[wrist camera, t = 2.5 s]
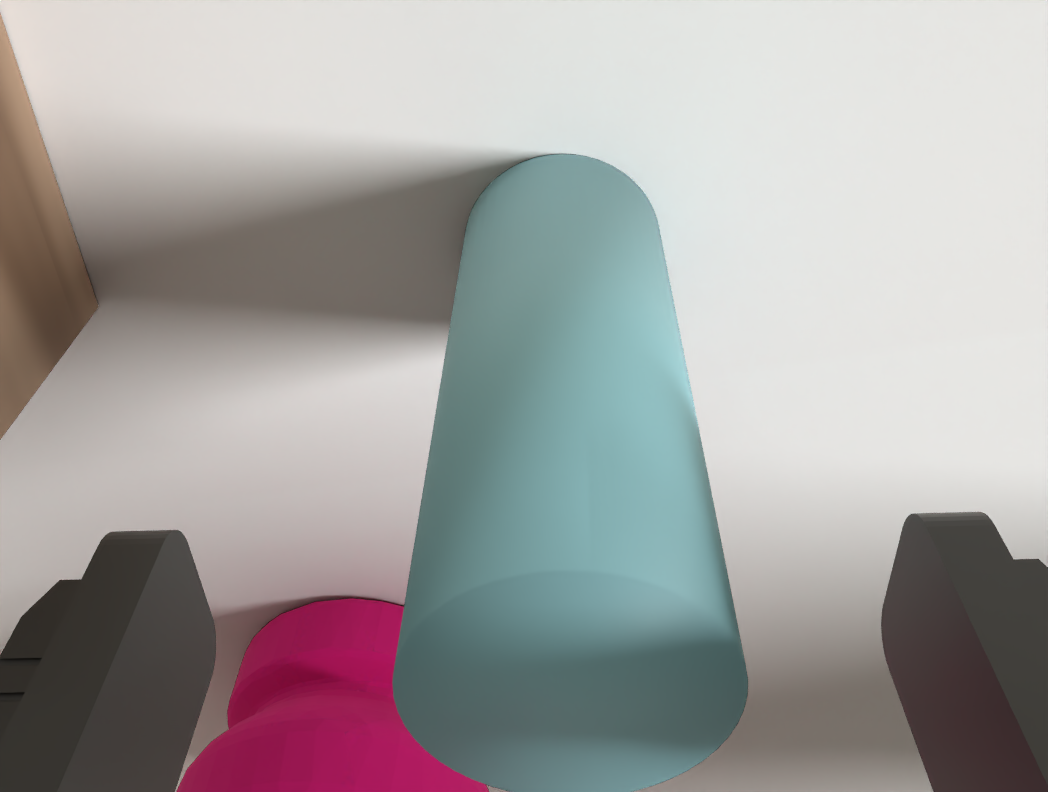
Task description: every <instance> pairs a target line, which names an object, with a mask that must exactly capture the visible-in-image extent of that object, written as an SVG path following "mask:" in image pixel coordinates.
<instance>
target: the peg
mask: <svg viewBox="0 0 1048 792" xmlns="http://www.w3.org/2000/svg"><path fill="white" fill-rule="evenodd" d="M392 684H393V697H394V701H395V704H396V708H397V711H398V713H399V715H400V717H401V719H402V721H403V723H404V725H405V727H406V728H407V730H408V731H409V732H410V734H411V735H412V736H413V738H414V739H415V740H416V741H417V742H418V743H419V744H420V745H421V746H422V747H423V748H424V749H425V750H426V751H427V752H428V753H429V754H431V755H432V756H433V757H435V758H436V759H437V760H438V761H440V762H441V763H443V764H444V765H446V766H448V767H449V768H451V769H453V770H454V771H456V772H458V773H460V774H462V775H464V776H466V777H468V778H470V779H473V780H475V781H478V782H481V783H483V784H486V785H489V786H492V787H495V788H499V789H502V790H506V791H510V792H632V791H636V790H640V789H643V788H647V787H650V786H653V785H656V784H659V783H661V782H664V781H666V780H669V779H671V778H673V777H675V776H677V775H679V774H681V773H684V772H686V771H688V770H689V769H691V768H692V767H694V766H695V765H697V764H699V763H700V762H702V761H703V760H705V759H706V758H707V757H708V756H709V755H711V754H712V753H713V752H714V751H716V750H717V749H718V748H719V747H720V746H721V744H722V743H723V742H724V741H725V740H726V739H727V738H728V737H729V735H730V734H731V733H732V731H733V730H734V728H735V727H736V725H737V724H738V722H739V719H740V717H741V715H742V713H743V711H744V707H745V703H746V699H747V694H748V677H747V671H746V665H745V660H744V655H743V650H742V645H741V640H740V635H739V630H738V625H737V620H736V615H735V610H734V604H733V599H732V594H731V589H730V584H729V579H728V574H727V569H726V564H725V559H724V554H723V549H722V544H721V539H720V534H719V529H718V524H717V519H716V513H715V508H714V503H713V498H712V493H711V488H710V483H709V478H708V473H707V468H706V463H705V458H704V453H703V448H702V443H701V438H700V433H699V428H698V422H697V417H696V412H695V407H694V402H693V397H692V392H691V387H690V382H689V377H688V372H687V367H686V362H685V357H684V352H683V347H682V342H681V337H680V331H679V326H678V321H677V316H676V311H675V306H674V301H673V296H672V291H671V286H670V281H669V276H668V271H667V266H666V261H665V256H664V251H663V246H662V240H661V235H660V230H659V225H658V221H657V218H656V215H655V212H654V209H653V207H652V205H651V203H650V202H649V200H648V198H647V197H646V195H645V194H644V192H643V191H642V190H641V189H640V187H639V186H638V185H637V184H636V183H635V182H634V181H633V180H632V179H631V178H629V177H628V176H627V175H626V174H624V173H623V172H622V171H620V170H618V169H617V168H615V167H613V166H612V165H609V164H607V163H605V162H602V161H600V160H597V159H594V158H590V157H587V156H580V155H574V154H555V155H545V156H541V157H536V158H533V159H530V160H527V161H524V162H521V163H519V164H517V165H515V166H513V167H511V168H509V169H508V170H506V171H505V172H504V173H502V174H501V175H499V176H498V177H497V178H496V179H495V180H493V181H492V182H491V183H490V184H489V185H488V186H487V187H486V189H485V190H484V191H483V192H482V193H481V195H480V196H479V198H478V199H477V201H476V203H475V204H474V206H473V209H472V211H471V213H470V215H469V219H468V222H467V226H466V231H465V237H464V243H463V249H462V255H461V261H460V268H459V274H458V280H457V286H456V292H455V298H454V304H453V310H452V317H451V323H450V329H449V335H448V341H447V347H446V353H445V359H444V366H443V372H442V378H441V384H440V390H439V396H438V402H437V408H436V414H435V421H434V427H433V433H432V439H431V445H430V451H429V457H428V463H427V470H426V476H425V482H424V488H423V494H422V500H421V506H420V512H419V519H418V525H417V531H416V537H415V543H414V549H413V555H412V561H411V567H410V574H409V580H408V586H407V592H406V598H405V604H404V610H403V616H402V623H401V629H400V635H399V641H398V647H397V653H396V659H395V665H394V673H393V681H392Z"/></svg>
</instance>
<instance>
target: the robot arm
mask: <svg viewBox="0 0 1048 792" xmlns="http://www.w3.org/2000/svg"><path fill="white" fill-rule="evenodd" d="M881 629H882V641H883V648H884V653H885V657H886V661H887V664H888V667H889V670H890V673H891V676H892V678H893V681H894V684H895V687H896V689H897V692H898V695H899V698H900V701H901V703H902V706H903V709H904V712H905V714H906V717H907V720H908V723H909V725H910V728H911V731H912V734H913V736H914V739H915V742H916V745H917V747H918V750H919V753H920V756H921V759H922V761H923V764H924V767H925V770H926V772H927V775H928V778H929V781H930V783H931V786H932V789H933V792H1048V567H1047V566H1046V565H1044V564H1043V563H1042V562H1041V561H1040V560H1039V559H1020V560H1013V558H1012V556H1011V554H1010V553H1009V551H1008V549H1007V547H1006V545H1005V543H1004V542H1003V540H1002V538H1001V536H1000V534H999V532H998V531H997V529H996V527H995V525H994V524H993V522H992V520H991V519H990V518H989V517H988V516H987V515H986V514H984V513H982V512H959V513H919V514H911V515H909V516H908V517H907V519H906V520H905V522H904V525H903V528H902V532H901V536H900V540H899V544H898V548H897V552H896V556H895V560H894V564H893V568H892V572H891V576H890V580H889V584H888V588H887V592H886V596H885V600H884V604H883V609H882V620H881ZM215 654H216V634H215V626H214V621H213V618H212V614H211V611H210V608H209V605H208V602H207V599H206V596H205V593H204V590H203V587H202V584H201V581H200V578H199V575H198V572H197V569H196V566H195V563H194V560H193V557H192V554H191V551H190V548H189V545H188V542H187V540H186V538H185V536H184V535H183V534H182V532H180V531H178V530H160V531H121V532H110V533H108V534H107V535H105V537H104V538H103V539H102V540H101V542H100V544H99V545H98V547H97V549H96V551H95V553H94V555H93V557H92V559H91V561H90V563H89V565H88V567H87V569H86V571H85V573H84V575H83V577H82V579H81V580H59V581H58V582H57V583H56V584H55V585H54V586H53V587H52V588H51V589H50V590H49V591H48V592H47V593H46V594H45V595H44V596H43V597H42V598H41V599H40V600H38V601H37V602H36V603H35V604H34V605H33V606H32V607H31V608H30V609H29V610H28V611H27V612H26V613H25V614H24V615H23V616H22V617H21V619H20V620H19V622H18V624H17V626H16V628H15V630H14V631H13V633H12V635H11V637H10V639H9V641H8V642H7V644H6V646H5V648H4V650H3V652H2V653H1V655H0V792H175V789H176V786H177V783H178V780H179V777H180V774H181V771H182V767H183V764H184V761H185V758H186V755H187V752H188V749H189V746H190V743H191V739H192V736H193V733H194V730H195V727H196V724H197V721H198V718H199V715H200V711H201V708H202V705H203V702H204V699H205V696H206V693H207V690H208V687H209V683H210V680H211V677H212V673H213V669H214V663H215Z"/></svg>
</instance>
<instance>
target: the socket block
mask: <svg viewBox="0 0 1048 792" xmlns="http://www.w3.org/2000/svg"><path fill="white" fill-rule="evenodd" d="M98 307H99V306H98V303H97V300H96V297H95V294H94V291H93V288H92V285H91V282H90V279H89V276H88V273H87V270H86V267H85V264H84V261H83V258H82V255H81V252H80V249H79V247H78V244H77V241H76V238H75V235H74V232H73V229H72V226H71V223H70V220H69V217H68V214H67V211H66V208H65V205H64V202H63V199H62V196H61V193H60V190H59V187H58V184H57V181H56V178H55V175H54V172H53V169H52V166H51V163H50V160H49V157H48V154H47V151H46V148H45V145H44V142H43V139H42V136H41V133H40V130H39V127H38V124H37V121H36V118H35V115H34V112H33V109H32V106H31V103H30V100H29V97H28V94H27V91H26V88H25V85H24V82H23V79H22V76H21V73H20V70H19V67H18V64H17V62H16V59H15V56H14V53H13V50H12V47H11V44H10V41H9V38H8V35H7V32H6V29H5V26H4V23H3V20H2V17H1V14H0V440H1V438H2V437H3V435H4V434H5V433H6V431H7V430H8V429H9V427H10V426H11V425H12V423H13V422H14V421H15V419H16V418H17V417H18V415H19V414H20V412H21V411H22V410H23V408H24V407H25V406H26V404H27V403H28V402H29V400H30V399H31V398H32V396H33V395H34V394H35V392H36V391H37V389H38V388H39V387H40V385H41V384H42V383H43V381H44V380H45V379H46V377H47V376H48V375H49V373H50V372H51V371H52V369H53V368H54V366H55V365H56V364H57V362H58V361H59V360H60V358H61V357H62V356H63V354H64V353H65V352H66V350H67V349H68V348H69V346H70V345H71V343H72V342H73V341H74V339H75V338H76V337H77V335H78V334H79V333H80V331H81V330H82V329H83V327H84V326H85V325H86V323H87V322H88V320H89V319H90V318H91V316H92V315H93V314H94V312H95V311H96V310H97V308H98Z"/></svg>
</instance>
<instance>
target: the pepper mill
mask: <svg viewBox="0 0 1048 792" xmlns="http://www.w3.org/2000/svg"><path fill="white" fill-rule="evenodd" d="M403 610H404V606H400V605H396V604H392V603H387V602H383V601H374V600H364V599H354V598H351V599H340V600H329V601H319V602H313V603H310V604H307V605H305V606H302V607H299V608H296V609H294V610H291V611H288V612H285V613H283V614H280V615H279V616H278V617H276V618H275V619H273V620H272V621H270V622H269V623H268V624H267V625H266V626H265V627H264V628H262V629H261V630H260V631H259V632H258V633H257V634H256V635H255V636H254V637H253V639H252V641H251V643H250V644H249V646H248V648H247V650H246V652H245V655H244V658H243V660H242V663H241V667H240V670H239V673H238V676H237V679H236V683H235V686H234V689H233V692H232V695H231V698H230V702H229V706H228V711H227V715H228V727H229V730H227V731H226V732H224V733H223V734H221V735H220V736H219V737H217V738H216V739H214V740H213V741H211V743H210V744H209V745H208V746H207V747H206V748H205V749H204V750H203V751H202V752H201V754H200V755H199V756H198V757H197V758H196V759H195V761H194V762H193V763H192V764H191V765H190V766H189V768H188V769H187V770H186V772H185V775H184V777H183V779H182V781H181V783H180V785H179V787H178V789H177V791H176V792H489V791H488V788H487V786H486V784H483V783H481V782H478V781H475V780H473V779H470V778H468V777H466V776H464V775H462V774H460V773H458V772H456V771H454V770H453V769H451V768H449V767H448V766H446V765H444V764H443V763H441V762H440V761H438V760H437V759H436V758H435V757H433V756H432V755H431V754H429V753H428V752H427V751H426V750H425V749H424V748H423V747H422V746H421V745H420V744H419V743H418V742H417V741H416V740H415V739H414V738H413V736H412V735H411V734H410V732H409V731H408V730H407V728H406V727H405V725H404V723H403V721H402V719H401V717H400V715H399V713H398V711H397V708H396V704H395V701H394V697H393V684H392V681H393V673H394V665H395V659H396V653H397V647H398V641H399V635H400V629H401V623H402V616H403Z"/></svg>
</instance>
